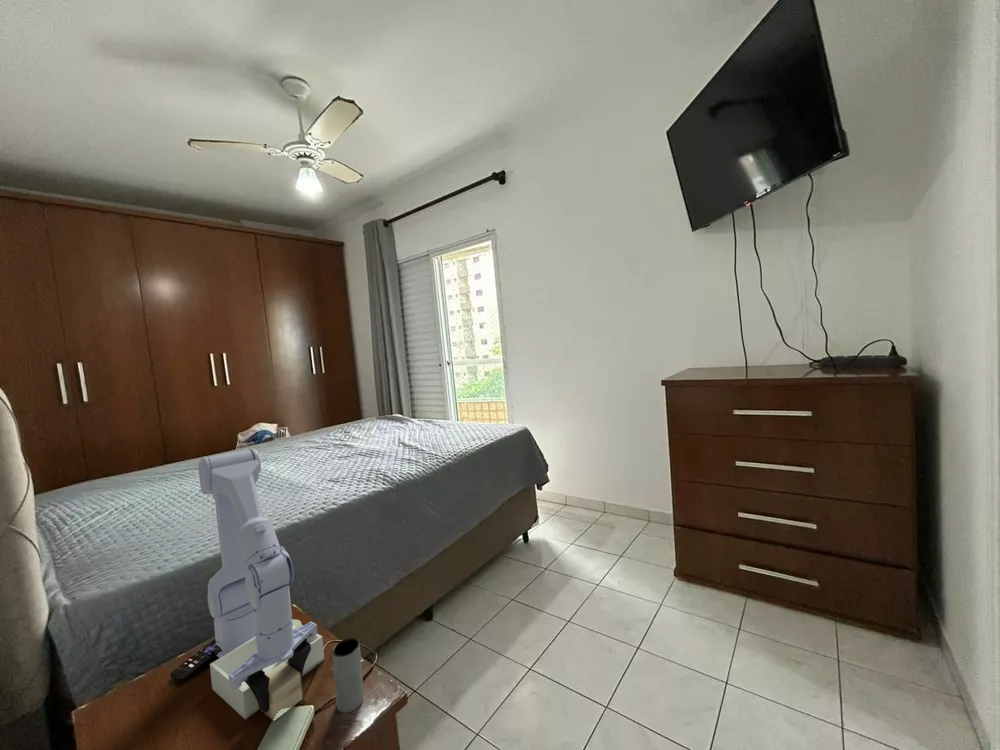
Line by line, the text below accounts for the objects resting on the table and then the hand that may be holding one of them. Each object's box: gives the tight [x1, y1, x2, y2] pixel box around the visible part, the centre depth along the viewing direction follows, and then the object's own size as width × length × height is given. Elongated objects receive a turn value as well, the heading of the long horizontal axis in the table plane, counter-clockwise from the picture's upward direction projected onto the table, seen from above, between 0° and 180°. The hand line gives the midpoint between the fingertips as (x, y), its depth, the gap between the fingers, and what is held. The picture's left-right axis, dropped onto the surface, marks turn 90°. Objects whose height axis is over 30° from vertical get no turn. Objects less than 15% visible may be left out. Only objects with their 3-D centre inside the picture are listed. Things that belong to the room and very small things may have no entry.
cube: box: [259, 663, 303, 721], centre depth 70 cm, size 5×5×5 cm
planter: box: [332, 637, 365, 714], centre depth 69 cm, size 4×4×10 cm
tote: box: [209, 624, 325, 720], centre depth 77 cm, size 13×15×5 cm
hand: (280, 696), depth 70 cm, fingers closed on cube, 5 cm apart
